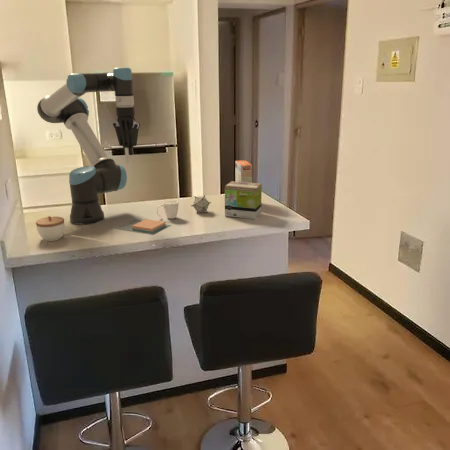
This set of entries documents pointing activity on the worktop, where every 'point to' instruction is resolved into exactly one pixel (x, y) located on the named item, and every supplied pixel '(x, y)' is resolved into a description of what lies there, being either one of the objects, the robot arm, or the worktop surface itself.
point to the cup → (170, 208)
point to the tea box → (243, 199)
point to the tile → (148, 226)
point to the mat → (129, 228)
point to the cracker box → (243, 171)
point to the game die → (200, 204)
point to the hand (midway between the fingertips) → (129, 162)
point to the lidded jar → (50, 228)
